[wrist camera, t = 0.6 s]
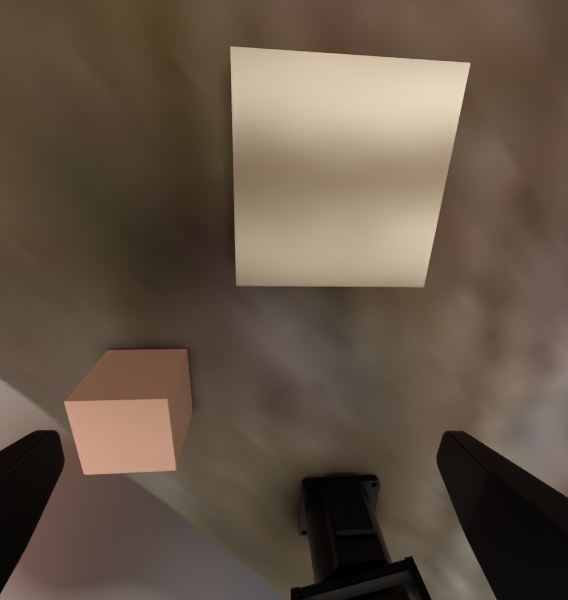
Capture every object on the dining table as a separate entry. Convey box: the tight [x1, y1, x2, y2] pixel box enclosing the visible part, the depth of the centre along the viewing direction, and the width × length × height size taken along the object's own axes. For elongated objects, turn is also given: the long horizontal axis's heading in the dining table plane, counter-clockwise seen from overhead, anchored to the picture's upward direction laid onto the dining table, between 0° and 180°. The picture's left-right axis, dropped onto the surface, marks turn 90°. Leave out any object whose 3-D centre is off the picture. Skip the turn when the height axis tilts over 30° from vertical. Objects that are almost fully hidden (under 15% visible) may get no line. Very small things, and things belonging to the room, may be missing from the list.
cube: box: [64, 349, 193, 475], centre depth 19 cm, size 5×5×5 cm
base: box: [231, 47, 470, 287], centre depth 16 cm, size 10×10×3 cm
